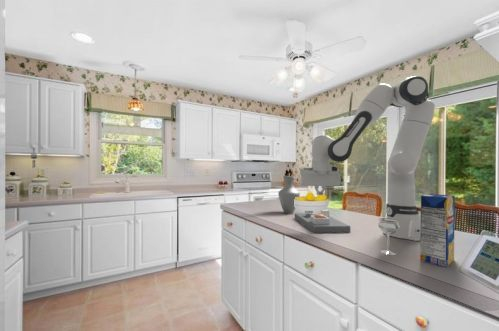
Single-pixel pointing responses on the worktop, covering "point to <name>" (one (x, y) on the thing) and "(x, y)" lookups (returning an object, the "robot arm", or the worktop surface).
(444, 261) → the beverage box
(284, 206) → the vase
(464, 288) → the worktop surface
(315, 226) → the panel
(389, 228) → the wineglass
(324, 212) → the paddle
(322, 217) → the push button
